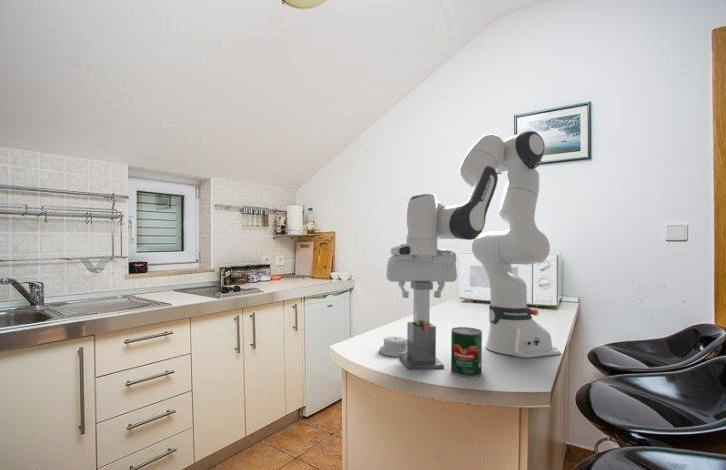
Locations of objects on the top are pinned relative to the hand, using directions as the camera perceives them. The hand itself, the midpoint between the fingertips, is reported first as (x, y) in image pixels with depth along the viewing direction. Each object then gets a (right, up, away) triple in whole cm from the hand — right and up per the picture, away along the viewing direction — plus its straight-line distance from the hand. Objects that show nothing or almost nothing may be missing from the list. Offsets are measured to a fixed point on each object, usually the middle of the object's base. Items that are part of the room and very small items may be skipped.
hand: (421, 297), depth 100 cm
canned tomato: (+11, -19, -7) cm, 23 cm away
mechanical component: (-7, -19, +9) cm, 22 cm away
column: (0, -12, -1) cm, 12 cm away
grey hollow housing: (0, -19, -1) cm, 19 cm away
